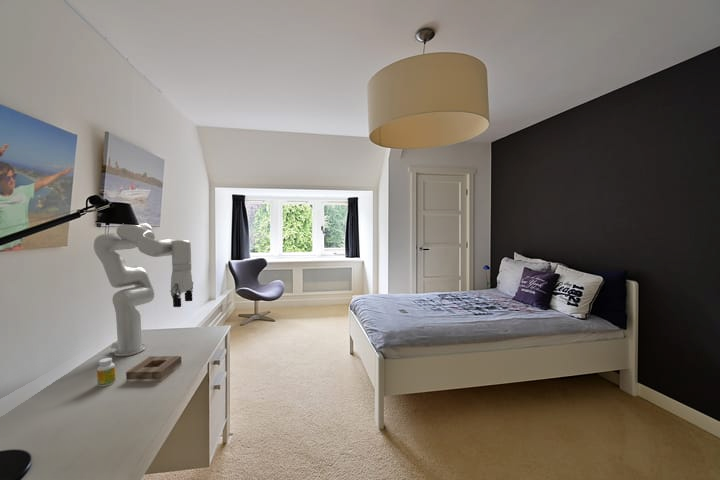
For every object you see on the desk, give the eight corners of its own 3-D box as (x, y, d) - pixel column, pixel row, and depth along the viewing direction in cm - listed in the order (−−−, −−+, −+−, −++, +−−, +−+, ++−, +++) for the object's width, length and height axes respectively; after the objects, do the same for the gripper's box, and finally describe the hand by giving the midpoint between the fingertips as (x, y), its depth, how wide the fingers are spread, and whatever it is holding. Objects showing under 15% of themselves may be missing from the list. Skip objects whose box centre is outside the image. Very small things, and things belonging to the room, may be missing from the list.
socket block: (126, 381, 120) (126, 372, 120) (150, 365, 134) (149, 356, 134) (161, 381, 120) (161, 371, 120) (181, 364, 134) (181, 356, 134)
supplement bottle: (105, 387, 116) (103, 363, 115) (94, 386, 117) (92, 362, 116) (119, 380, 121) (117, 357, 121) (108, 379, 122) (107, 356, 122)
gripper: (183, 264, 144) (184, 299, 145) (161, 270, 127) (163, 309, 128) (199, 264, 145) (200, 298, 146) (180, 270, 127) (181, 309, 128)
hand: (183, 303), depth 137 cm, fingers open, 9 cm apart
